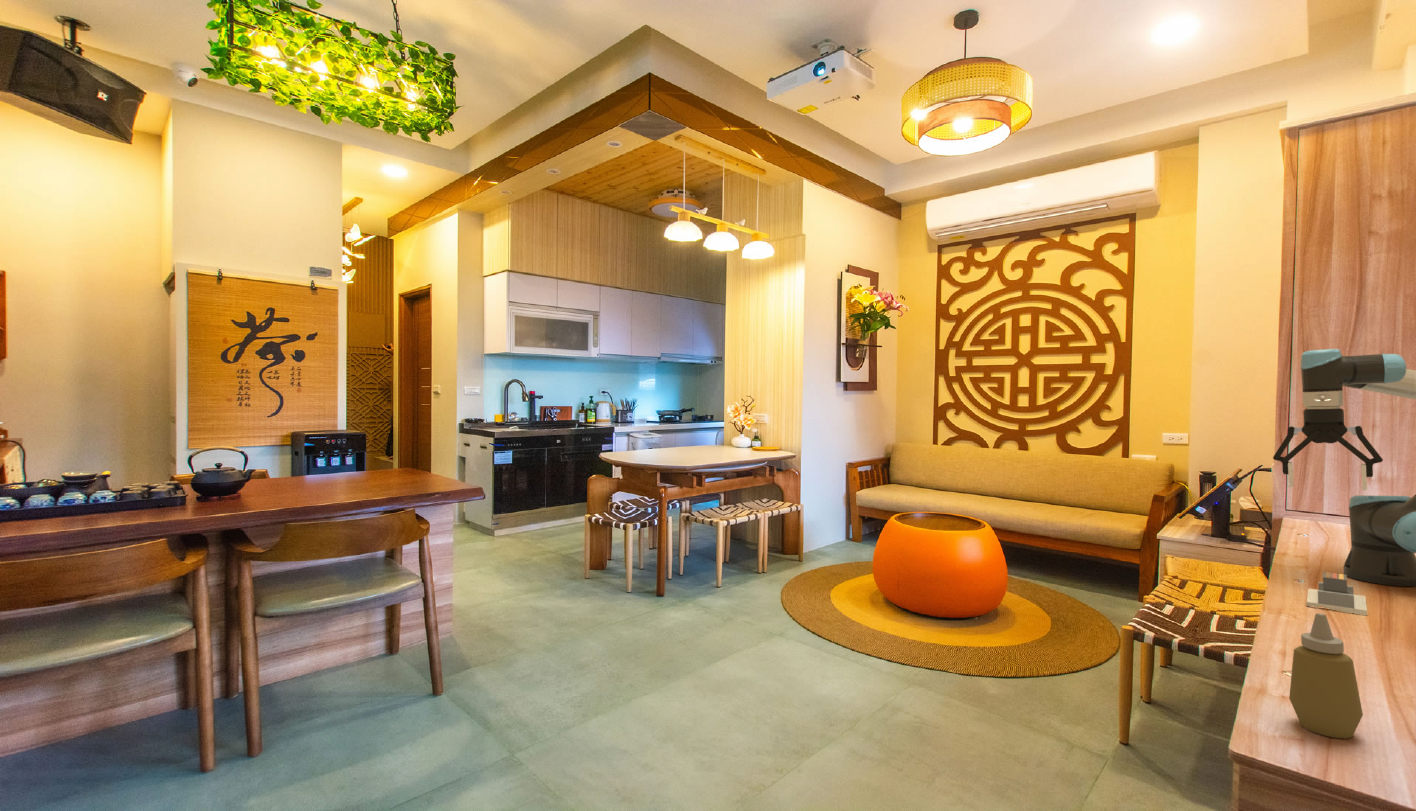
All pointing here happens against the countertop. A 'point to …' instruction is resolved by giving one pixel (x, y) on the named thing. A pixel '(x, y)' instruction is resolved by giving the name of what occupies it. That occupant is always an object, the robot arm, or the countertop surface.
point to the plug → (1334, 582)
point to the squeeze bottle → (1324, 684)
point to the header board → (1337, 600)
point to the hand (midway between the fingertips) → (1326, 488)
